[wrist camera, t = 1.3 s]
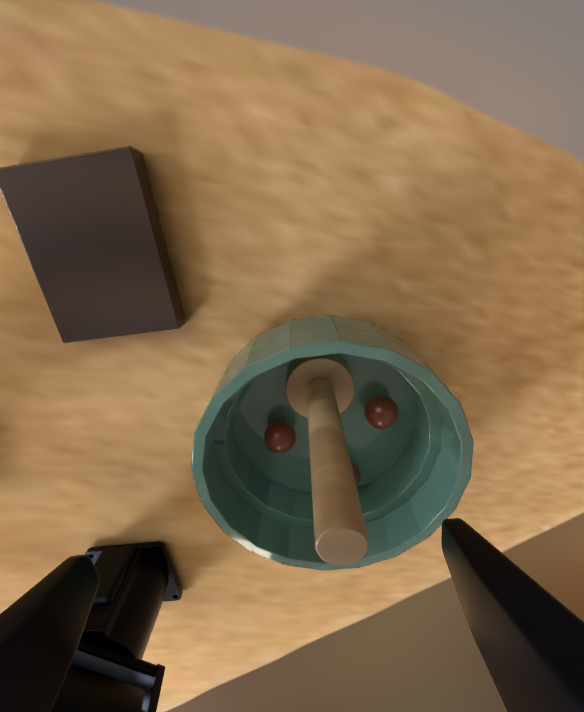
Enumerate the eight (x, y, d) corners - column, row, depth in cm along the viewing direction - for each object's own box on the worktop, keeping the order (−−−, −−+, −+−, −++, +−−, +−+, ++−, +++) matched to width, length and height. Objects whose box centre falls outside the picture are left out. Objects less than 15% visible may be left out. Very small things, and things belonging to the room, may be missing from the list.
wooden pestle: (353, 406, 21) (412, 588, 10) (290, 413, 21) (284, 597, 10) (349, 347, 19) (411, 488, 9) (281, 355, 19) (263, 501, 9)
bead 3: (393, 415, 21) (403, 433, 19) (362, 418, 21) (368, 437, 19) (393, 387, 20) (402, 403, 18) (360, 391, 20) (367, 407, 18)
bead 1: (298, 438, 21) (298, 458, 20) (268, 441, 22) (265, 461, 20) (294, 412, 21) (293, 430, 19) (263, 416, 21) (259, 434, 19)
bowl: (428, 489, 24) (464, 559, 19) (239, 506, 25) (223, 578, 20) (432, 298, 19) (483, 323, 14) (194, 328, 20) (157, 362, 15)
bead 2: (358, 475, 22) (364, 497, 21) (329, 478, 23) (332, 500, 21) (357, 451, 22) (362, 472, 20) (327, 454, 22) (330, 475, 20)
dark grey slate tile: (186, 323, 20) (179, 328, 18) (76, 337, 20) (63, 343, 19) (141, 151, 16) (130, 145, 15) (11, 172, 17) (-9, 168, 16)
